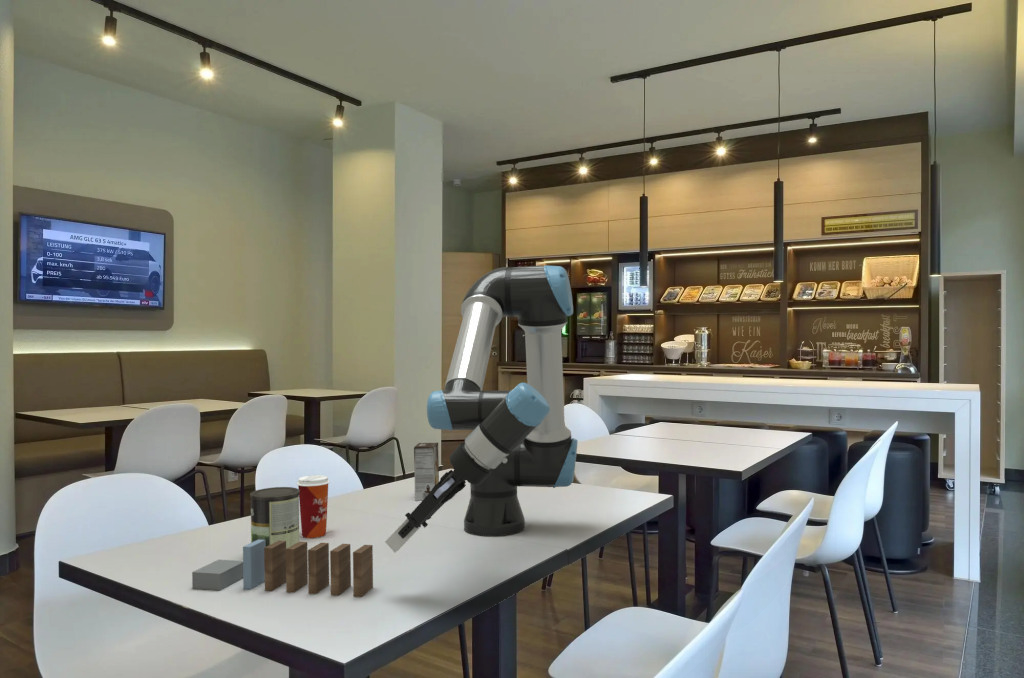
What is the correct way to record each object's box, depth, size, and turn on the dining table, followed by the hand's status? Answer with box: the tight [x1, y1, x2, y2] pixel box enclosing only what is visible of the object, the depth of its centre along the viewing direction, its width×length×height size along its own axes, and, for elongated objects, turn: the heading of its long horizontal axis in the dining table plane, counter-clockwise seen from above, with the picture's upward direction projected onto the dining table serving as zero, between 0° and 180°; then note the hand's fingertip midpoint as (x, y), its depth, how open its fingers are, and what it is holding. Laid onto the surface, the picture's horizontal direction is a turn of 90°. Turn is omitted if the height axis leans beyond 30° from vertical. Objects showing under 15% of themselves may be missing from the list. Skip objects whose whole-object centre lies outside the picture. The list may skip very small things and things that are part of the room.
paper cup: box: [296, 474, 331, 539], centre depth 170 cm, size 8×8×14 cm
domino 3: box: [285, 541, 308, 593], centre depth 132 cm, size 2×5×8 cm, turn 167°
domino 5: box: [329, 543, 352, 596], centre depth 130 cm, size 2×5×8 cm, turn 167°
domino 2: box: [264, 541, 286, 592], centre depth 133 cm, size 2×5×8 cm, turn 167°
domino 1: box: [242, 540, 266, 590], centre depth 134 cm, size 2×5×8 cm, turn 167°
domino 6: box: [352, 544, 374, 598], centre depth 129 cm, size 2×5×8 cm, turn 167°
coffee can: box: [249, 486, 300, 549], centre depth 153 cm, size 10×10×14 cm
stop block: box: [191, 559, 243, 591], centre depth 136 cm, size 6×8×3 cm
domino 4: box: [307, 542, 330, 595], centre depth 131 cm, size 2×5×8 cm, turn 167°
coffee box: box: [413, 442, 440, 502], centre depth 211 cm, size 9×6×16 cm
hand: (391, 546), depth 127 cm, fingers closed
